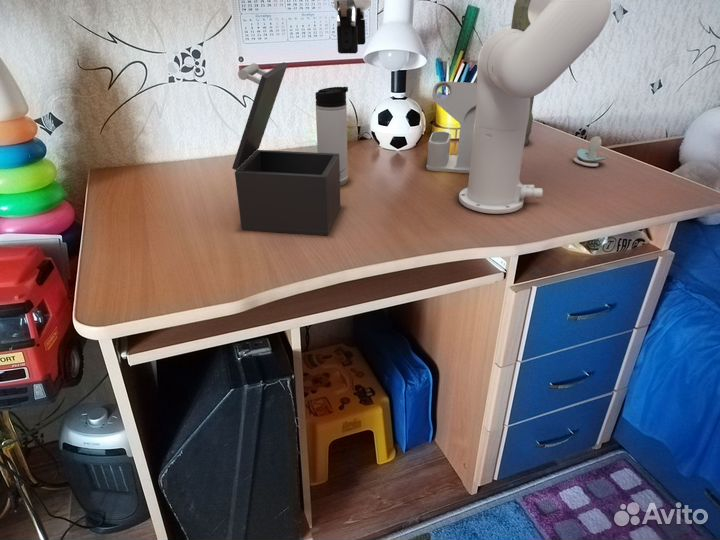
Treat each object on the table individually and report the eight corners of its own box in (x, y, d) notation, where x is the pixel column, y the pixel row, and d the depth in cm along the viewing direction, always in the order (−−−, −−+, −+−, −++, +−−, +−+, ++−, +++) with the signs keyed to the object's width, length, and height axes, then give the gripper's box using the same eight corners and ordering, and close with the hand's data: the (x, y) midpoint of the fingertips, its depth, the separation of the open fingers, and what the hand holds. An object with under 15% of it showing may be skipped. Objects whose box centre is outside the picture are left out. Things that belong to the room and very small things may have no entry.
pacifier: (591, 170, 124) (609, 165, 126) (596, 144, 121) (615, 139, 123) (566, 161, 129) (584, 156, 132) (571, 135, 126) (589, 131, 129)
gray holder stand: (424, 169, 124) (428, 88, 115) (429, 156, 133) (434, 79, 123) (501, 176, 120) (512, 92, 111) (502, 161, 129) (512, 83, 120)
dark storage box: (340, 207, 105) (339, 153, 100) (327, 235, 95) (325, 176, 89) (262, 203, 108) (257, 149, 102) (241, 230, 97) (234, 172, 92)
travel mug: (345, 188, 114) (344, 91, 104) (315, 186, 115) (311, 89, 105) (352, 178, 119) (351, 84, 109) (323, 176, 121) (319, 83, 111)
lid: (287, 64, 93) (260, 50, 93) (266, 77, 83) (235, 62, 82) (258, 148, 102) (233, 136, 101) (236, 170, 91) (207, 157, 91)
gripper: (366, -74, 75) (368, 57, 84) (379, -70, 90) (379, 41, 99) (313, -72, 76) (320, 57, 85) (334, -68, 91) (339, 41, 100)
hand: (352, 48), depth 92 cm, fingers open, 9 cm apart
